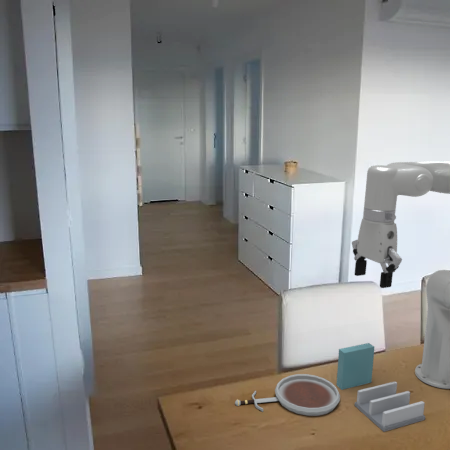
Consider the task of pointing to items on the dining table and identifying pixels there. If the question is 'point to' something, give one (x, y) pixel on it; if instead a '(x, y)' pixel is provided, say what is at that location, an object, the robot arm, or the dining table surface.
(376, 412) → the dish rack
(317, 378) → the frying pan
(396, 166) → the robot arm
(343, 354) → the teal upright slab
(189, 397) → the dining table surface
